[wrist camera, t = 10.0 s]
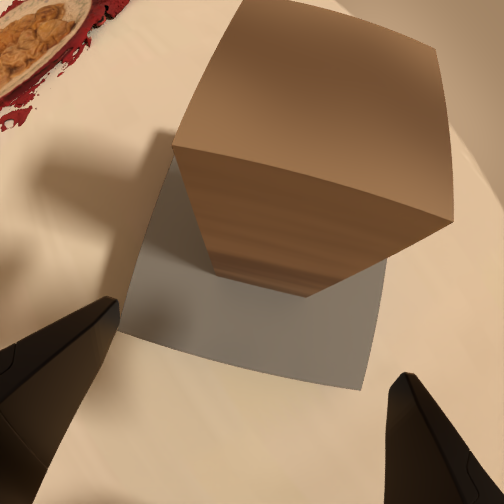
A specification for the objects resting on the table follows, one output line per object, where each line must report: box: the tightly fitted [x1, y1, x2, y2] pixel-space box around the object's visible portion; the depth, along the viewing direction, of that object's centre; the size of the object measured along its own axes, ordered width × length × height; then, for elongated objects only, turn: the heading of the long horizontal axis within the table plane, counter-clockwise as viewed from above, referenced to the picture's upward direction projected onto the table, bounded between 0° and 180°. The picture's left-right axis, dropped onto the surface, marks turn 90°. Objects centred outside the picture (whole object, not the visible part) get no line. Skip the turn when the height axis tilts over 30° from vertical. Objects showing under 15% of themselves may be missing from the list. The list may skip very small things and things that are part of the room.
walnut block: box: [172, 0, 454, 298], centre depth 12 cm, size 5×5×13 cm
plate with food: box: [0, 0, 130, 132], centre depth 25 cm, size 25×26×4 cm
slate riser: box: [117, 155, 387, 391], centre depth 20 cm, size 14×14×3 cm
